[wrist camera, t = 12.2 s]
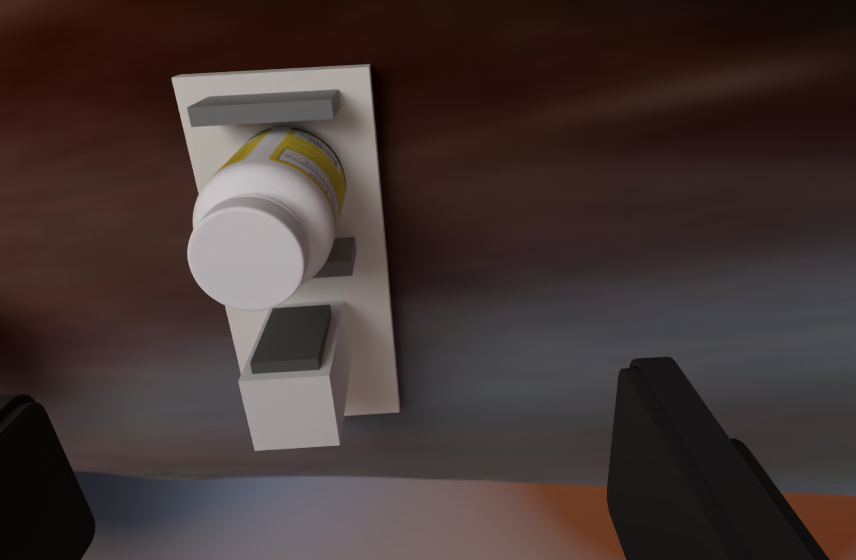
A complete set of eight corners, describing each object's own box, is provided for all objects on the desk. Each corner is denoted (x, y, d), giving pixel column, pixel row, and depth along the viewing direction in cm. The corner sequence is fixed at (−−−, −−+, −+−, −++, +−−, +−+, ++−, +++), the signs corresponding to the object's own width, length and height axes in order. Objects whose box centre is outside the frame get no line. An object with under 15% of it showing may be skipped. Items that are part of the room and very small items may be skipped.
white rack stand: (370, 64, 27) (358, 88, 20) (399, 400, 36) (398, 502, 29) (180, 74, 27) (97, 102, 20) (256, 409, 36) (219, 514, 29)
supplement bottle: (244, 229, 29) (177, 329, 21) (230, 122, 27) (148, 183, 18) (350, 230, 30) (328, 328, 21) (346, 124, 27) (319, 184, 18)
